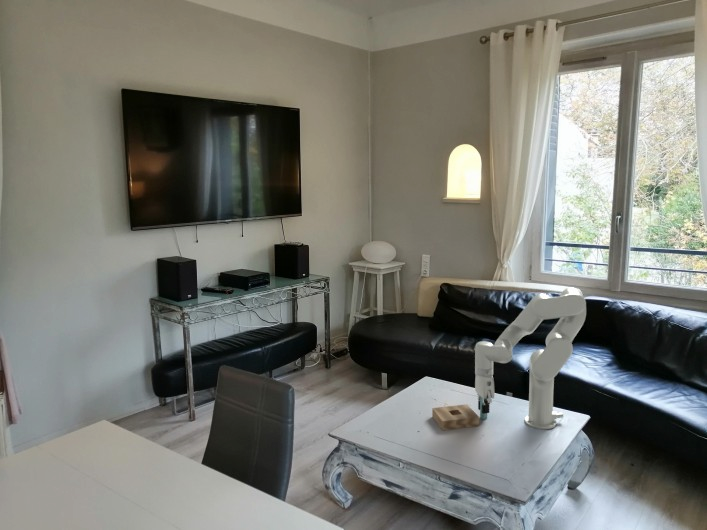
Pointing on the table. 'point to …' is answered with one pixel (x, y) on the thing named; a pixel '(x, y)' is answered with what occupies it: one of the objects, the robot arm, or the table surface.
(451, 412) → the hole block
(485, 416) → the peg
